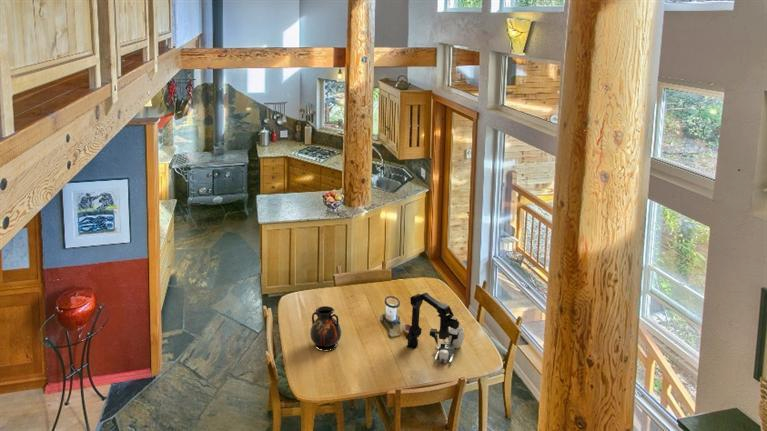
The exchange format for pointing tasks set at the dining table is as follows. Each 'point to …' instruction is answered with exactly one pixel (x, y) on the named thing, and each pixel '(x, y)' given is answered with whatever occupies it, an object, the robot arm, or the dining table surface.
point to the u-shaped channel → (449, 348)
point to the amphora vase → (325, 329)
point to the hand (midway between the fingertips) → (444, 345)
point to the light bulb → (443, 356)
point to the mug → (458, 341)
